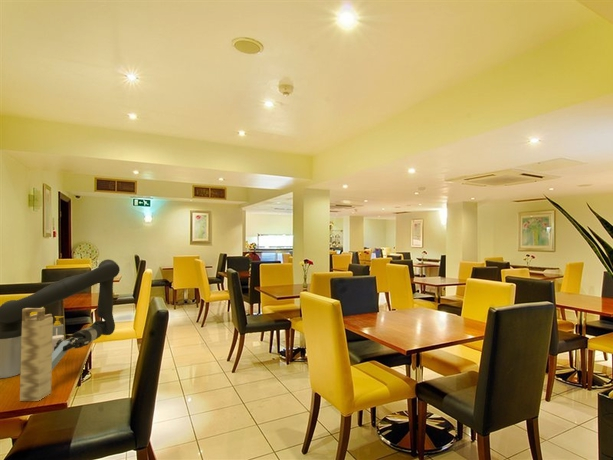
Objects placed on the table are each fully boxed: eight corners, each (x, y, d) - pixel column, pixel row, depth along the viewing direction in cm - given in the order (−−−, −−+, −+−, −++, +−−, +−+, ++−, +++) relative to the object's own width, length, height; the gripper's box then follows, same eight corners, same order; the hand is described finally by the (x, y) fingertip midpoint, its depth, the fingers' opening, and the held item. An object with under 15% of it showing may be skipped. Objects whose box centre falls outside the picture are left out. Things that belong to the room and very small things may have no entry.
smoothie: (61, 352, 184) (62, 326, 184) (65, 354, 180) (66, 328, 180) (47, 355, 179) (48, 328, 180) (50, 357, 175) (51, 330, 175)
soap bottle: (58, 350, 187) (59, 317, 188) (45, 350, 187) (46, 317, 187) (67, 346, 194) (68, 315, 194) (55, 346, 194) (55, 315, 194)
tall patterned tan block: (19, 401, 128) (22, 309, 129) (32, 393, 134) (35, 305, 135) (38, 401, 128) (41, 309, 129) (51, 393, 135) (53, 305, 136)
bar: (42, 372, 137) (40, 366, 136) (64, 346, 150) (62, 340, 149) (50, 372, 137) (48, 366, 136) (71, 345, 150) (69, 340, 149)
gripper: (69, 329, 161) (42, 340, 144) (99, 329, 162) (76, 340, 145) (69, 345, 161) (42, 358, 144) (99, 344, 162) (76, 357, 145)
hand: (59, 349), depth 144 cm, fingers closed on bar, 3 cm apart
